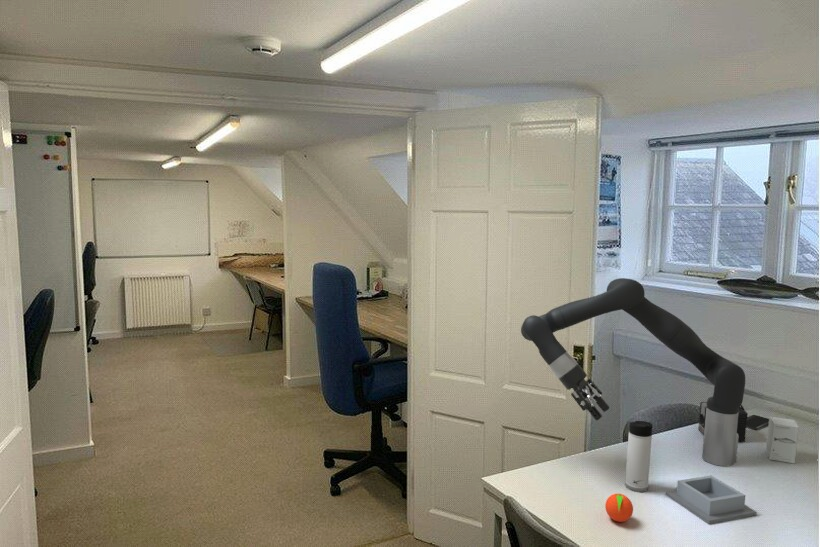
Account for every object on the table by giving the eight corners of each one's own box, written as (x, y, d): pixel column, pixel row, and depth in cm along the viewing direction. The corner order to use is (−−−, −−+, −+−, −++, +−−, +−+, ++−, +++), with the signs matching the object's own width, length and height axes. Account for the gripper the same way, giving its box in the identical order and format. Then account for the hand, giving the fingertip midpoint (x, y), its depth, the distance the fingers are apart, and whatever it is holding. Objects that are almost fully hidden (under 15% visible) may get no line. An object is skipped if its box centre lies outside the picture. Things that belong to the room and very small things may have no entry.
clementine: (632, 531, 152) (634, 505, 151) (603, 526, 154) (605, 500, 153) (632, 516, 159) (634, 490, 158) (605, 510, 161) (606, 486, 161)
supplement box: (769, 460, 195) (772, 423, 194) (765, 451, 202) (768, 415, 200) (795, 464, 192) (799, 427, 191) (790, 455, 199) (794, 419, 198)
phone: (775, 420, 228) (756, 428, 220) (774, 423, 229) (756, 431, 220) (753, 414, 235) (734, 422, 226) (753, 417, 235) (734, 424, 226)
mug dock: (709, 487, 176) (711, 471, 175) (755, 515, 161) (757, 497, 160) (665, 494, 171) (666, 478, 170) (708, 524, 156) (710, 506, 155)
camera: (694, 428, 221) (697, 389, 219) (734, 431, 219) (738, 392, 217) (704, 440, 210) (708, 399, 208) (746, 443, 208) (750, 402, 206)
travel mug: (638, 494, 171) (643, 427, 168) (620, 484, 176) (624, 419, 174) (653, 490, 174) (658, 424, 171) (635, 480, 179) (640, 416, 177)
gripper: (569, 369, 175) (607, 414, 170) (583, 358, 187) (618, 400, 182) (551, 383, 178) (587, 428, 174) (565, 371, 190) (600, 413, 186)
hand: (603, 414), depth 178 cm, fingers open, 8 cm apart
